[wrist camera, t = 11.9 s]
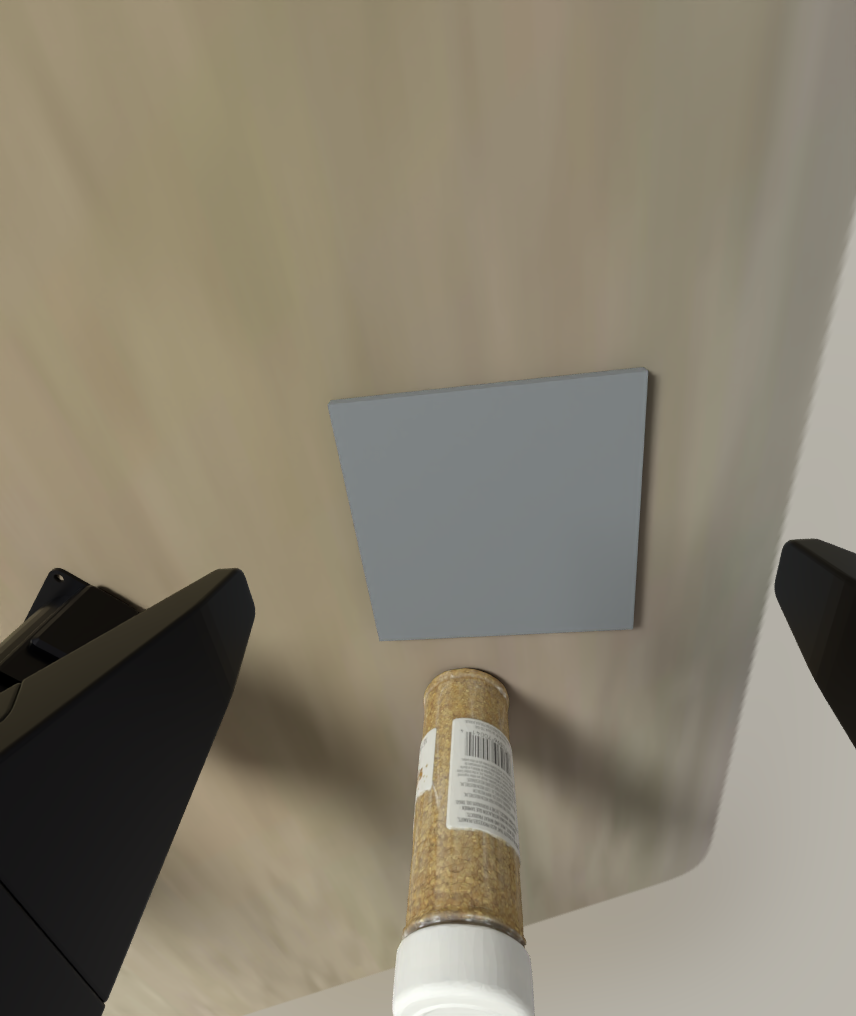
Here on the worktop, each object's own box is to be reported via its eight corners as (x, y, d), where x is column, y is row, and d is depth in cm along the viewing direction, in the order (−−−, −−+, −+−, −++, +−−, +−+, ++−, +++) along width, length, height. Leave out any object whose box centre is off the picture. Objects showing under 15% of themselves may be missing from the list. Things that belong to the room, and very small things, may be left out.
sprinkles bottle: (406, 689, 29) (359, 1015, 17) (474, 650, 27) (474, 981, 15) (461, 737, 30) (452, 1069, 18) (528, 703, 29) (565, 1043, 17)
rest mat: (629, 620, 26) (633, 629, 25) (381, 632, 27) (379, 641, 27) (643, 367, 20) (648, 371, 20) (331, 400, 22) (327, 404, 21)
